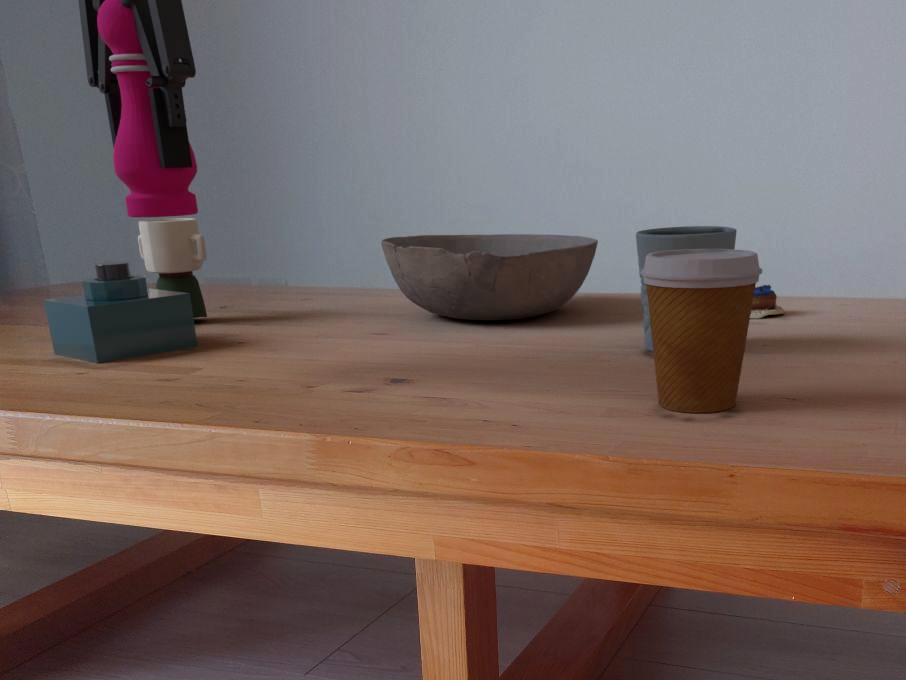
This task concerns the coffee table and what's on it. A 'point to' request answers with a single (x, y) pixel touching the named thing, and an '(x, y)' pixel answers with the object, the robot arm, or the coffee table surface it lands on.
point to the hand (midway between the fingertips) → (154, 168)
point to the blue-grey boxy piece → (120, 321)
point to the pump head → (112, 271)
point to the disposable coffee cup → (699, 324)
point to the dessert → (764, 302)
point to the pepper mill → (141, 126)
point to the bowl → (489, 272)
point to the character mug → (174, 256)
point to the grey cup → (677, 241)
